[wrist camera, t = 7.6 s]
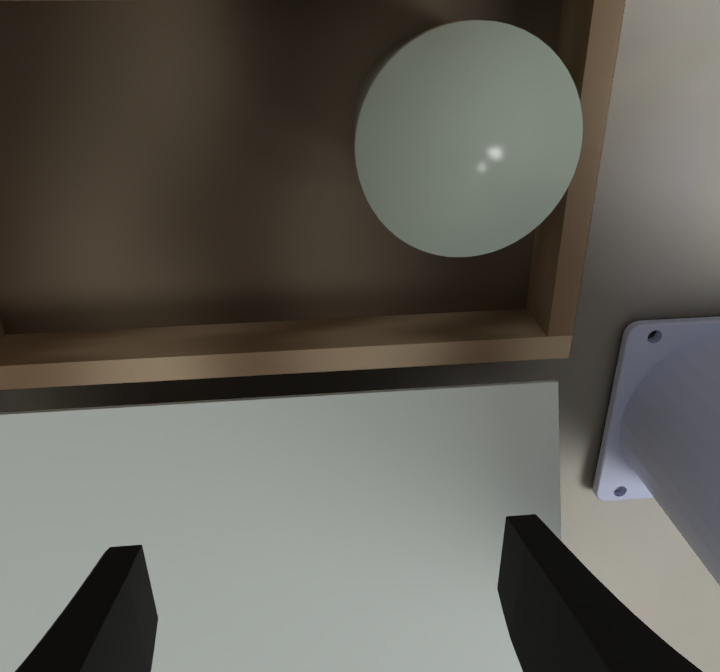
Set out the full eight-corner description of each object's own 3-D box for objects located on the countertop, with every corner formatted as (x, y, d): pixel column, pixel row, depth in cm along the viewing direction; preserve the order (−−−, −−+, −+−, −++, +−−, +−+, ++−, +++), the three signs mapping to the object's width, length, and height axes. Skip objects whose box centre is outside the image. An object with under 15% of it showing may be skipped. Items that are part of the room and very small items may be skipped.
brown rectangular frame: (588, -37, 18) (697, -54, 13) (516, 507, 27) (565, 617, 22) (-125, -34, 16) (-300, -52, 11) (51, 542, 25) (-6, 668, 20)
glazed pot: (535, 16, 18) (599, 18, 14) (516, 208, 20) (566, 252, 17) (340, 19, 17) (354, 21, 14) (344, 214, 20) (357, 261, 16)
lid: (563, 696, 21) (558, 688, 21) (558, 381, 20) (553, 379, 20) (3, 752, 20) (10, 743, 20) (-30, 416, 19) (-23, 413, 19)
